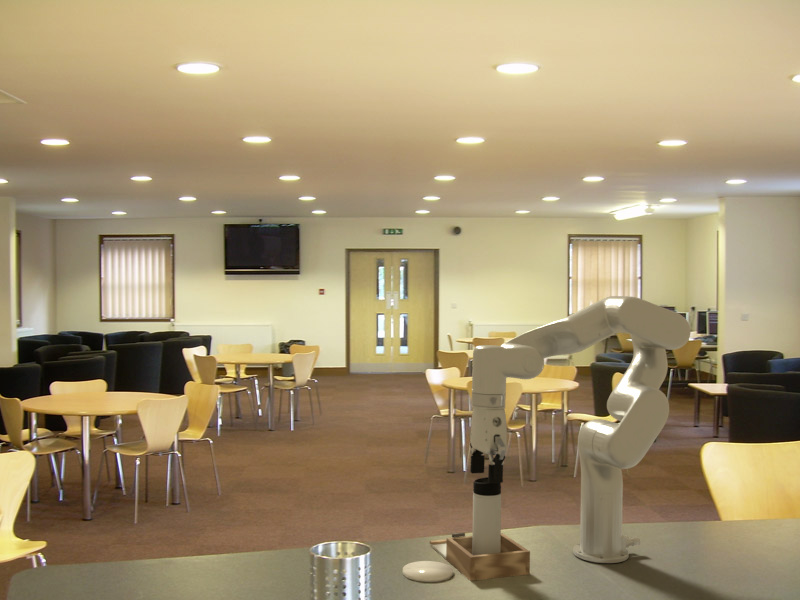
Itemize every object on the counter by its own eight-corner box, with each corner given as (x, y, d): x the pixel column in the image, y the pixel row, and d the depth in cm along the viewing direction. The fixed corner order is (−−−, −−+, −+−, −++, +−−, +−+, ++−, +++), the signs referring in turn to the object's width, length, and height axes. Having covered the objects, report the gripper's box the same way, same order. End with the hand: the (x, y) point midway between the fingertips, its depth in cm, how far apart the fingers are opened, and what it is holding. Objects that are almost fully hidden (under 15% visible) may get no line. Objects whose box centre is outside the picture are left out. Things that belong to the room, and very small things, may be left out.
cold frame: (482, 540, 203) (483, 516, 203) (529, 574, 179) (530, 547, 179) (429, 545, 199) (429, 521, 198) (470, 580, 175) (470, 553, 175)
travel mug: (500, 572, 180) (501, 481, 180) (470, 570, 181) (471, 479, 181) (502, 563, 186) (504, 475, 186) (473, 561, 187) (474, 473, 187)
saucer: (442, 562, 186) (442, 559, 186) (460, 579, 176) (461, 575, 176) (396, 567, 183) (396, 563, 183) (412, 584, 172) (412, 580, 172)
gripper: (521, 406, 176) (518, 486, 176) (487, 395, 192) (485, 468, 193) (489, 406, 174) (486, 487, 174) (458, 396, 190) (455, 470, 190)
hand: (486, 477), depth 183 cm, fingers open, 9 cm apart
